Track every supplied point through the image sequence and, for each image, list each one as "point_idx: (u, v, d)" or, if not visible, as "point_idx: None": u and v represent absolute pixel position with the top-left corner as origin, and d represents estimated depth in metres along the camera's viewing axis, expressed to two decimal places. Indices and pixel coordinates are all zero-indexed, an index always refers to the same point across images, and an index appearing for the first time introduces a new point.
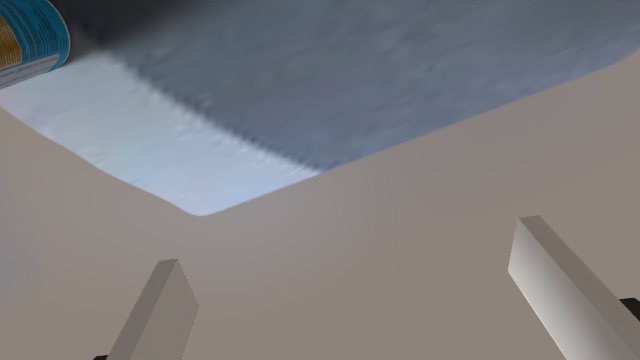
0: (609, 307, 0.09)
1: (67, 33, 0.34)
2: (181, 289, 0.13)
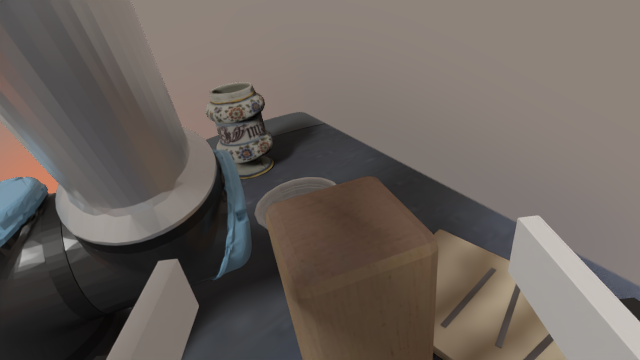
0: (609, 307, 0.09)
1: None
2: (181, 289, 0.13)
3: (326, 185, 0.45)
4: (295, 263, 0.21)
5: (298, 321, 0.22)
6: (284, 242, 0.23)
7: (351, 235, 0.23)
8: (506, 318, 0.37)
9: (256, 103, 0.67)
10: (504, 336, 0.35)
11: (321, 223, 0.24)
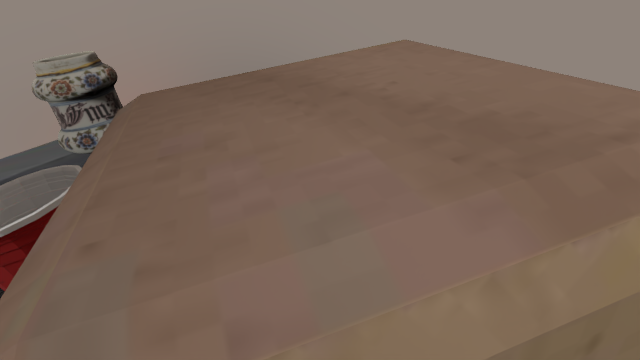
0: None
1: None
2: None
3: None
4: (48, 262, 0.04)
5: None
6: (88, 176, 0.06)
7: (368, 138, 0.05)
8: None
9: (94, 76, 0.52)
10: None
11: (252, 118, 0.07)
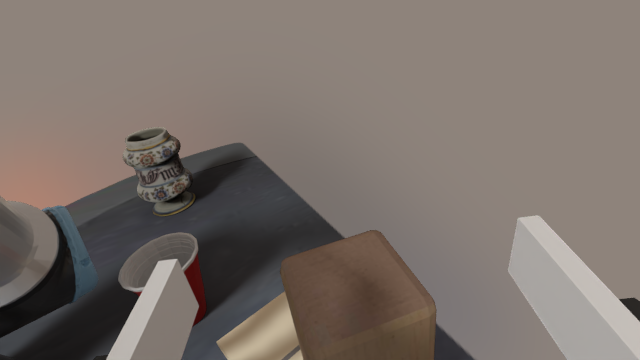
0: (609, 307, 0.09)
1: None
2: (181, 289, 0.13)
3: (192, 241, 0.51)
4: (309, 324, 0.24)
5: None
6: (299, 301, 0.26)
7: (358, 296, 0.26)
8: None
9: (168, 149, 0.73)
10: None
11: (331, 282, 0.27)
